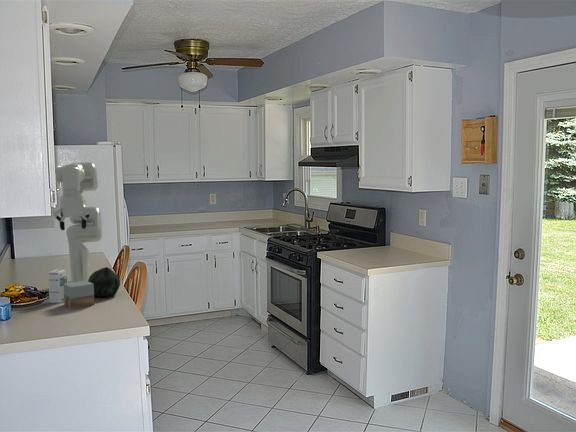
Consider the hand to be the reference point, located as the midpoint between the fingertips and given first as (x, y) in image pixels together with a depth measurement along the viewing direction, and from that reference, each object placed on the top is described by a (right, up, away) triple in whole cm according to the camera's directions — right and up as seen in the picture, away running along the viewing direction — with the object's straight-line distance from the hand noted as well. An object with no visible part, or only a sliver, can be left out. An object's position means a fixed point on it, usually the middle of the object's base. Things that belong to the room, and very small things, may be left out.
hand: (73, 229), depth 250 cm
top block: (+7, -29, -12) cm, 32 cm away
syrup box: (-5, -34, -5) cm, 34 cm away
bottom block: (+7, -34, -12) cm, 37 cm away
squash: (+13, -32, +5) cm, 35 cm away
